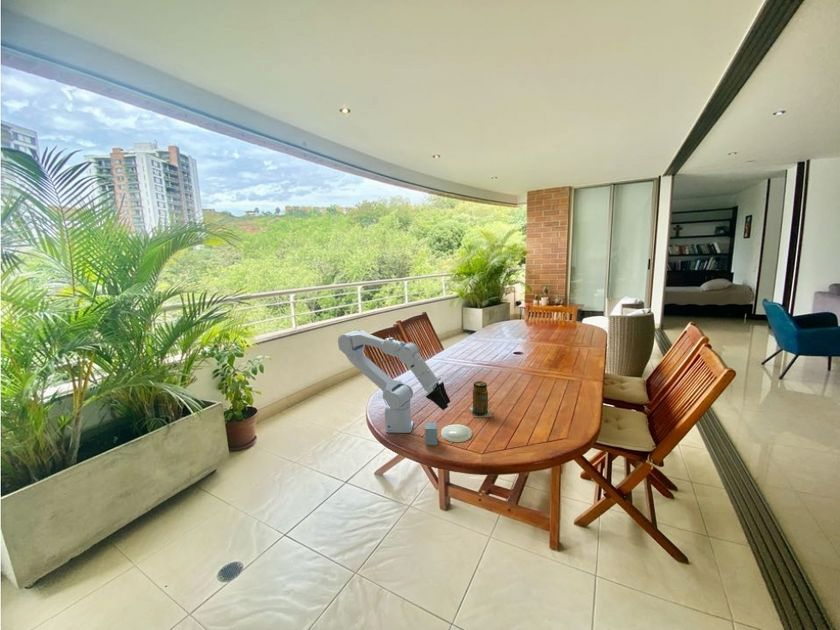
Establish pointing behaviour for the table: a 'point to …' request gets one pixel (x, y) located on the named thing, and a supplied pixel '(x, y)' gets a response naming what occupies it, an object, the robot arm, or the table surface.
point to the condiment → (480, 400)
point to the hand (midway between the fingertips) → (446, 405)
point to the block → (431, 434)
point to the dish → (456, 433)
